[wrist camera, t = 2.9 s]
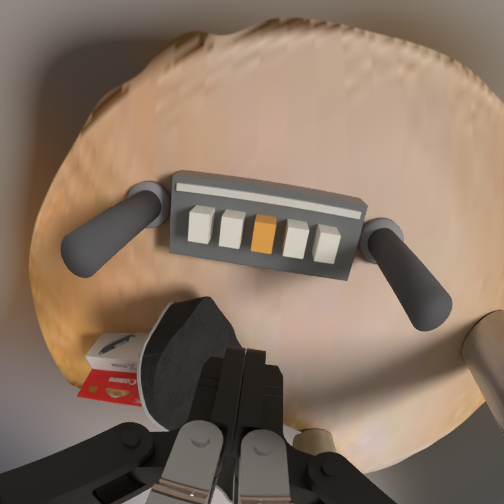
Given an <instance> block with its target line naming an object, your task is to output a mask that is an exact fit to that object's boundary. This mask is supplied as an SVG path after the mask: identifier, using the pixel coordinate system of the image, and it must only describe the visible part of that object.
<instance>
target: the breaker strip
mask: <svg viewBox="0 0 504 504" xmlns="http://www.w3.org/2000/svg"><path fill="white" fill-rule="evenodd" d="M367 207H368V205H367V204H365V203H364V202H363V201H362V200H361V199H360V198H356V197H352V196H347V195H342V194H337V193H332V192H326V191H321V190H316V189H310V188H305V187H299V186H293V185H287V184H281V183H275V182H269V181H262V180H256V179H249V178H242V177H235V176H227V175H220V174H212V173H203V172H194V171H185V170H181V171H179V172H177V173H175V174H174V175H173V180H172V196H171V215H170V244H169V253H174V254H180V255H186V256H192V257H198V258H204V259H210V260H216V261H223V262H229V263H235V264H241V265H247V266H254V267H260V268H266V269H273V270H279V271H286V272H292V273H299V274H305V275H312V276H318V277H325V278H332V279H338V280H345V281H347V279H348V276H349V273H350V269H351V266H352V263H353V259H354V256H355V252H356V249H357V245H358V241H359V238H360V234H361V230H362V226H363V223H364V219H365V215H366V211H367Z"/></svg>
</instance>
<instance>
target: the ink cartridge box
mask: <svg viewBox="0 0 504 504" xmlns="http://www.w3.org/2000/svg"><path fill="white" fill-rule="evenodd" d="M148 334H149V333H102V334H101V335H100V337H99V338H98V339H97V341H96V342H95V343H94V344H93V346H92V347H91V349H90V350H89V351H88V353H87V354H86V355H85V358H86V359H87V361H88V362H89V364H90V366H91V368H92V371H91V372H90V374H89V376H88V377H87V379H86V381H85V382H84V384H83V386H82V388H81V390H80V392H79V393H78V395H77V397H81V398H86V399H92V400H97V401H103V402H110V403H116V404H122V405H130V406H138V407H142V403H141V400H140V395H139V390H138V383H137V365H138V359H139V354H140V351H141V348H142V345H143V343H144V341H145V339H146V337H147V336H148ZM107 389H113V390H121V391H129V392H130V393H129V395H127V396H122V397H118V398H113V397H111V396H110V395H108V394H107V393H106V390H107Z"/></svg>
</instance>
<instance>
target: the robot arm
mask: <svg viewBox="0 0 504 504" xmlns="http://www.w3.org/2000/svg"><path fill="white" fill-rule="evenodd" d="M244 356H245V348H240V347H234V346H227V347H226V351H225V356H224V358H219V357H213V356H211V357H210V358H209V359H208V360H207V361H206V362H205V363H204V364H203V367H202V370H201V374H200V377H199V381H198V385H197V388H196V391H195V395H194V398H193V402H192V406H191V409H190V413H189V416H188V419H187V421H186V422H185V423H184V424H183V425H182V426H181V427H179V428H178V429H175V430H172V431H166V432H149V430H148V429H146V427H144V426H143V425H141V424H138V423H134V422H126V423H122V424H119V425H117V426H115V427H113V428H111V429H109V430H107V431H105V432H102V433H100V434H98V435H96V436H94V437H92V438H90V439H88V440H85V441H83V442H80V443H79V444H76V445H74V446H71V447H69V448H67V449H64V450H62V451H60V452H57V453H55V454H52V455H50V456H47V457H45V458H43V459H40V460H37V461H35V462H32V463H29V464H27V465H24V466H21V467H18V468H16V469H13V470H10V471H7V472H4V473H1V474H0V504H122V503H124V502H125V501H127V500H129V499H131V498H133V497H135V496H137V495H139V494H140V493H142V492H144V491H146V490H148V489H149V488H151V487H152V489H151V491H150V493H149V496H148V498H147V501H146V503H145V504H211V501H212V497H213V493H214V490H215V486H216V482H217V479H218V475H219V473H220V471H221V468H222V462H223V456H228V457H229V454H230V448H231V442H232V437H233V431H234V426H235V431H234V438H233V445H232V452H231V457H236V458H237V459H236V467H235V472H234V480H233V504H397V503H395V502H394V501H393V500H392V499H391V498H390V497H388V496H387V495H386V494H385V493H384V492H383V491H381V490H380V489H379V488H378V487H377V486H376V485H375V484H373V483H372V482H371V481H370V480H369V479H368V478H367V477H366V476H364V475H363V474H362V473H361V472H360V471H359V470H358V469H357V468H356V467H355V466H353V465H352V464H351V463H350V462H349V461H348V460H347V459H346V458H345V457H343V456H342V455H340V454H338V453H335V452H322V453H319V454H317V455H316V456H314V455H311V454H308V453H305V452H302V451H299V450H297V449H295V448H293V447H292V446H290V444H289V443H288V442H287V441H286V439H285V438H284V435H283V375H282V373H281V371H280V370H279V368H278V366H274V365H266V364H265V359H266V351H262V350H254V349H248V348H247V352H246V358H245V364H244V370H243V363H244ZM462 358H463V359H464V361H465V363H466V364H467V366H468V368H469V370H470V372H471V373H472V375H473V377H474V379H475V381H476V383H477V385H478V386H479V388H480V390H481V392H482V394H483V396H484V398H485V400H486V402H487V404H488V406H489V408H490V410H491V412H492V414H493V416H494V418H495V420H496V422H497V424H498V427H499V429H500V431H501V433H502V435H503V437H504V311H501V310H500V311H495V312H493V313H491V314H489V315H487V316H486V317H484V318H483V319H482V320H481V321H479V322H478V323H477V324H476V325H475V326H474V328H473V329H472V330H471V331H470V333H469V334H468V336H467V337H466V339H465V342H464V344H463V347H462ZM242 370H243V376H242ZM241 377H242V382H241ZM240 384H241V389H240ZM239 391H240V396H239ZM238 398H239V403H238ZM237 405H238V410H237ZM236 412H237V417H236ZM235 419H236V424H235Z"/></svg>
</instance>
